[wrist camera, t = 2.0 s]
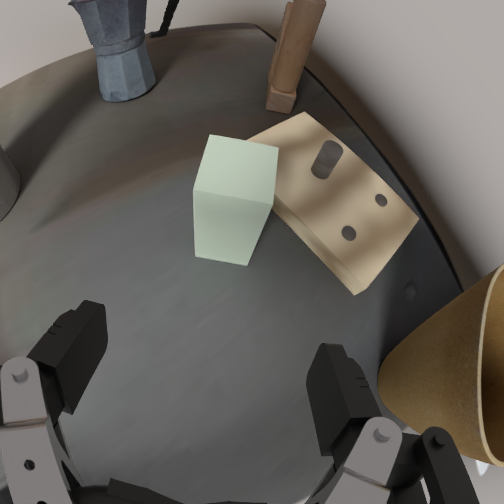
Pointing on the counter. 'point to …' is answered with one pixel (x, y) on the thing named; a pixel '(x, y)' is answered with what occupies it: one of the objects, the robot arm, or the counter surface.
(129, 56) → the moka pot
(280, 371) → the counter surface
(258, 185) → the block
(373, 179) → the wooden board with holes
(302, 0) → the wooden block
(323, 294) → the counter surface
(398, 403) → the plant pot
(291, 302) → the counter surface
